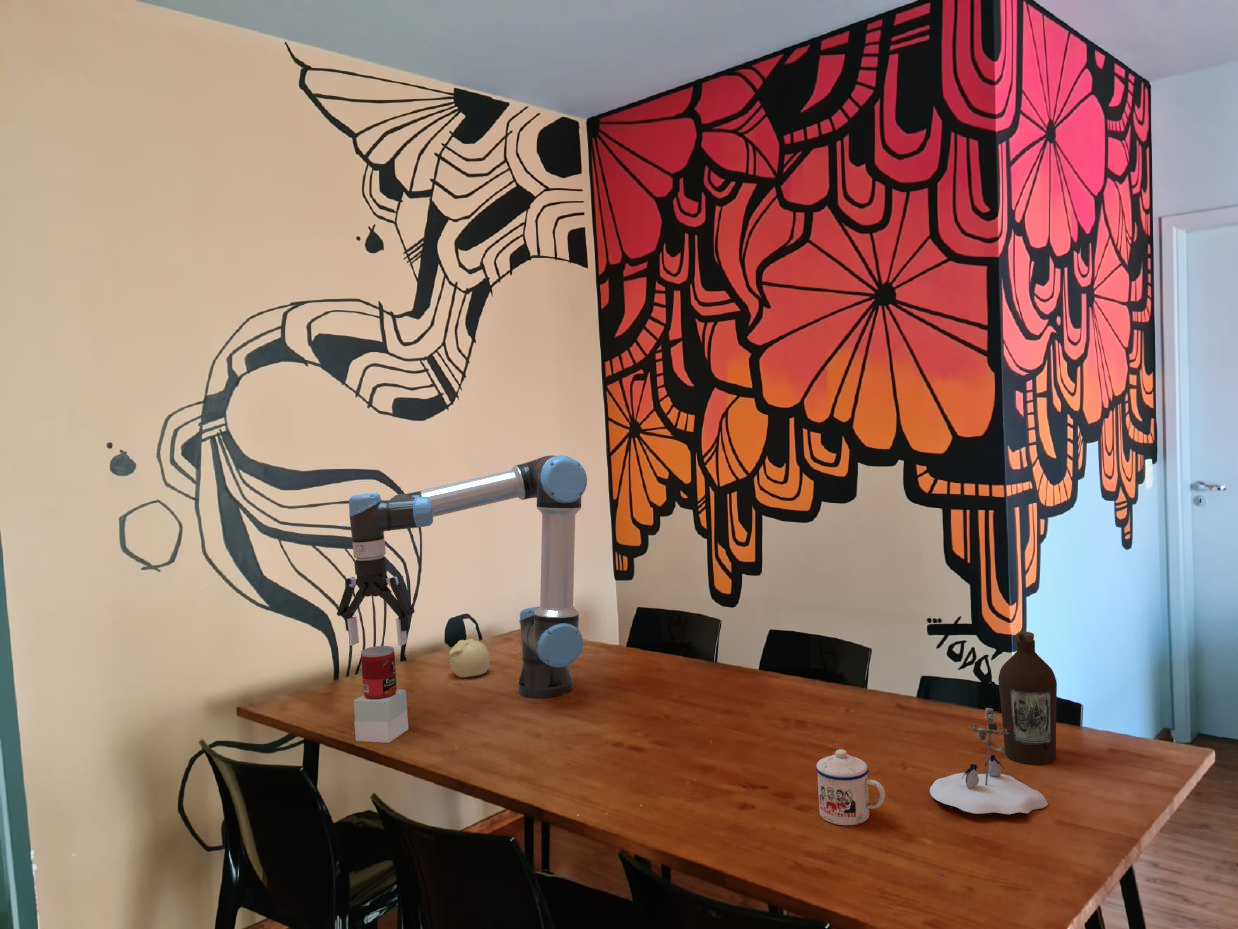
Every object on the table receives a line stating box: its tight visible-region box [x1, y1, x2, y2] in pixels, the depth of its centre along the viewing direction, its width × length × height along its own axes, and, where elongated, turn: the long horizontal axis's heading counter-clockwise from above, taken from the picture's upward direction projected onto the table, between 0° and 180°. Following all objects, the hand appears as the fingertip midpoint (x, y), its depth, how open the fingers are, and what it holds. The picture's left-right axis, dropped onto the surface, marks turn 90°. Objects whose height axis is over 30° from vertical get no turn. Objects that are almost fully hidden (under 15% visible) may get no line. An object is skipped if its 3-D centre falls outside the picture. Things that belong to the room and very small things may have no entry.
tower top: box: [353, 689, 408, 722], centre depth 212 cm, size 9×9×5 cm
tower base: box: [353, 709, 409, 744], centre depth 212 cm, size 9×9×5 cm
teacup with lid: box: [815, 749, 886, 826], centre depth 154 cm, size 12×9×12 cm
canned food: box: [360, 645, 398, 699], centre depth 212 cm, size 8×8×11 cm
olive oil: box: [997, 631, 1058, 765], centre depth 175 cm, size 11×11×25 cm
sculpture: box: [447, 638, 491, 678], centre depth 260 cm, size 12×12×11 cm
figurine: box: [929, 707, 1049, 815], centre depth 158 cm, size 20×18×16 cm
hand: (378, 644), depth 212 cm, fingers open, 13 cm apart
